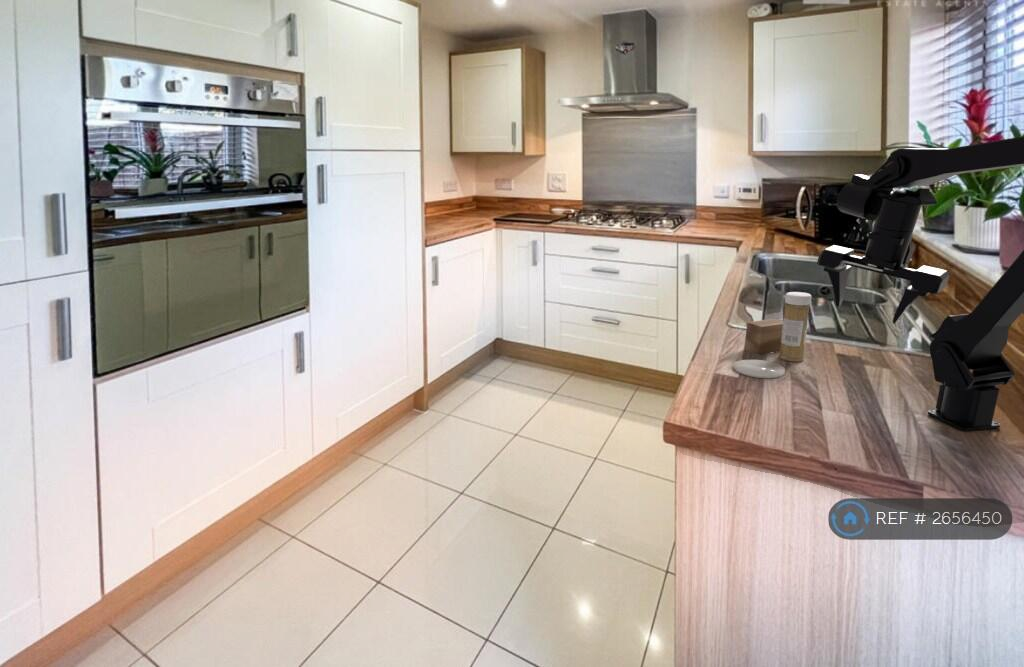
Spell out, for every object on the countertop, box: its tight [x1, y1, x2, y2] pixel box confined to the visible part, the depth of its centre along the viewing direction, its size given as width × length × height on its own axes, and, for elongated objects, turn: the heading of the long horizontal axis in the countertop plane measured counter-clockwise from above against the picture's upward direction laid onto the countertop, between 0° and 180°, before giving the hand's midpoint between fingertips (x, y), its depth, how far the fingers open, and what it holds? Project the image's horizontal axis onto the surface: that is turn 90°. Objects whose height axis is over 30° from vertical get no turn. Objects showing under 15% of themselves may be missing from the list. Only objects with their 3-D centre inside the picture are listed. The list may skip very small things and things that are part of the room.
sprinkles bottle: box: [778, 291, 812, 363], centre depth 116 cm, size 5×5×14 cm
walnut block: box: [744, 318, 784, 355], centre depth 123 cm, size 4×8×6 cm, turn 112°
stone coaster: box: [733, 359, 786, 379], centre depth 111 cm, size 9×9×1 cm
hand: (865, 314), depth 103 cm, fingers open, 9 cm apart
